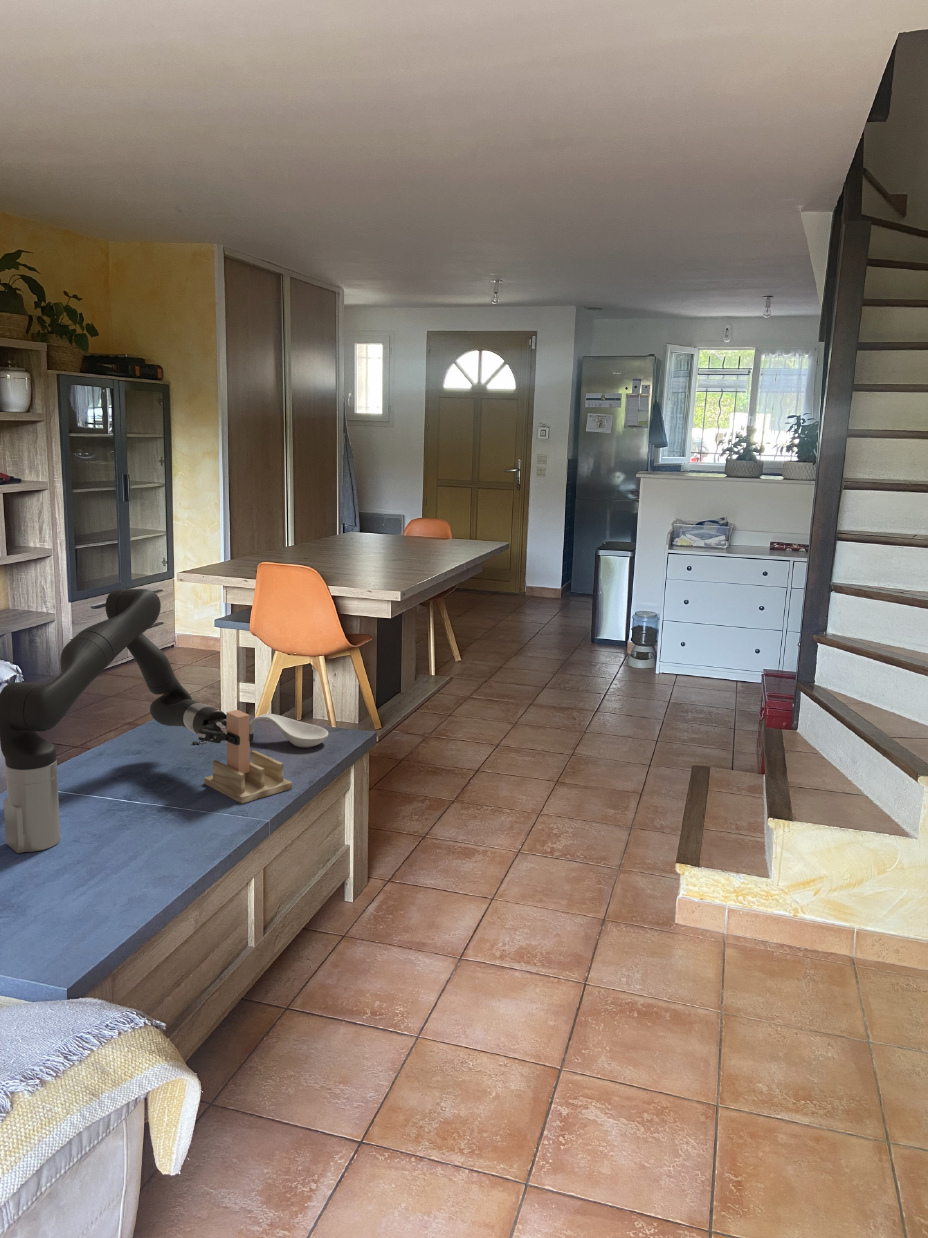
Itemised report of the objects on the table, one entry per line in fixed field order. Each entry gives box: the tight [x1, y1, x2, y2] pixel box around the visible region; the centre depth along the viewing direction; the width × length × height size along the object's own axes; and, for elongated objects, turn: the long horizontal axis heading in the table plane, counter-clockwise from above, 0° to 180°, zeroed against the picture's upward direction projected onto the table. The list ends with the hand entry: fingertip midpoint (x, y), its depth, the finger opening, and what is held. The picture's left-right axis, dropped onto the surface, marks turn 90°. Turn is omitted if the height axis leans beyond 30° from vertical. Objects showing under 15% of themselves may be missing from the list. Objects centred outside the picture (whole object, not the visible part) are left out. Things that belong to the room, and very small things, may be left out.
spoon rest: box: [250, 713, 329, 748], centre depth 249 cm, size 24×12×7 cm, turn 78°
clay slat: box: [226, 709, 251, 773], centre depth 213 cm, size 3×5×14 cm, turn 47°
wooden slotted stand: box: [203, 749, 293, 804], centre depth 217 cm, size 14×16×6 cm
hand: (245, 739), depth 211 cm, fingers closed on clay slat, 3 cm apart
